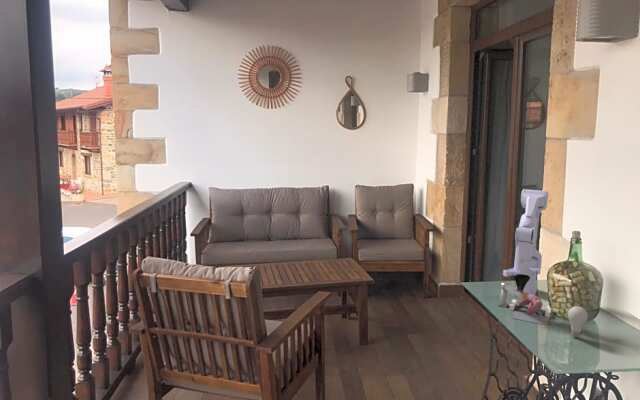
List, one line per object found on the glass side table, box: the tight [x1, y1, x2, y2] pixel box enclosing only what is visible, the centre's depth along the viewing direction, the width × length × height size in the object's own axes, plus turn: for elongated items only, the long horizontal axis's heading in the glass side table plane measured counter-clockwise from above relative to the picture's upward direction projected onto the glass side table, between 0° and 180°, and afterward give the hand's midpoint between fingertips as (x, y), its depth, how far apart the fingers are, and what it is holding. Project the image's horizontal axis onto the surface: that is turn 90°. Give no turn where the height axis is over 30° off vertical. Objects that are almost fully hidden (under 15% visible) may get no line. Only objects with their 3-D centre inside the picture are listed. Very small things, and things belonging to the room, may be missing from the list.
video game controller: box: [518, 294, 544, 314], centre depth 200 cm, size 10×5×7 cm, turn 179°
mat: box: [511, 310, 550, 326], centre depth 193 cm, size 8×12×1 cm, turn 61°
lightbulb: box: [567, 306, 589, 339], centre depth 177 cm, size 6×6×11 cm
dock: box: [498, 288, 552, 318], centre depth 201 cm, size 7×19×7 cm, turn 61°
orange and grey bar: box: [500, 281, 528, 300], centre depth 199 cm, size 13×3×2 cm, turn 19°
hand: (519, 293), depth 198 cm, fingers closed
